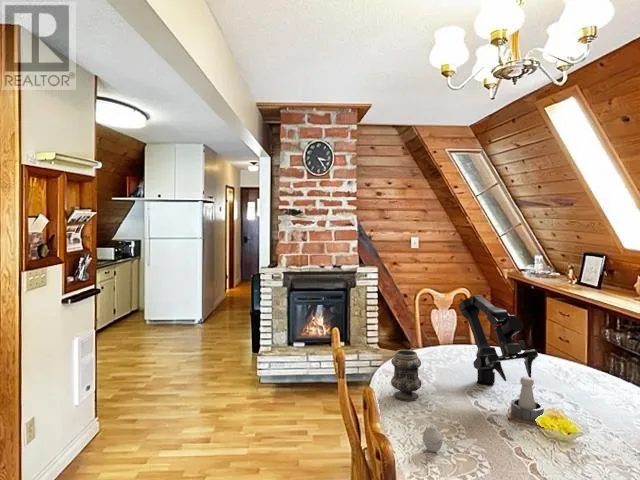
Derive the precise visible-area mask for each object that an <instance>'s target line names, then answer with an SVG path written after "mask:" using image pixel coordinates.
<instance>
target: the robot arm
mask: <svg viewBox="0 0 640 480" xmlns="http://www.w3.org/2000/svg"><path fill="white" fill-rule="evenodd" d="M458 309H459V311H460V313H461V315H462V316H463V317H464V318H465V319H467V321H468V324H469V327H470V330H471V333H472V336H473V338H474V341H475V345H476V347H477V351H476V355H475V356H476V358H475V360H474V361H473V368H474V369H476V370H477V381H476V384H477V385H478V384H480V385H487V386H494V384H495V383H496V372H497V373H498V374H499V376H500V377H501V378H502V380H503V381H504V382H507V378H506V375H505V373H504V370H503V367H502V363H501V362H503V361H511V360H520V359H523V360H524V361H523V362H524V363H523V364H524V367H525V369H526V370H525V371H526V374H527V377H530V378H532V365H533V362H534V361H535V360H536V359H537V358H538V357H539V353H538V351H537V350H536V349H534V348H533V349H526V343H525V341H524V340H517V342H516V341H515V339H514V337H513V336H515V335H517V334H519V332H521V331H522V330H523V329H524V323H523V321H521V320H520V319H519V318H517V317H516V315H515V314H510V313H509V312H508V311H507V309H504V308H501V307H498V306H497V307H496V306H494V305H493V304H492V303H491V302H489V301H488V300H487V299H485V298H484V296H483V295H480V294H475V295H474V294H473V295H471V296H469V297H467V298H465V299H462V300H461V302H459V305H458ZM480 311H481V312H482V313H483V314H484V315H486V320H487V321H488V322H489V323H490V324H491V325H494V328H493V329H492V333H495V336H496V338H497V342H498V348H499V349H500V352H501V355H499V354H498V353H497V349H496V348H495V347H494V346H490V345H489V343H488V339H487V336H486V334H485V331H484V328H483V326H482V323H481V320H480V317H479V315H480ZM525 349H526V350H525ZM522 350H524V351H523V352H522ZM495 371H496V372H495Z"/></svg>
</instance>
